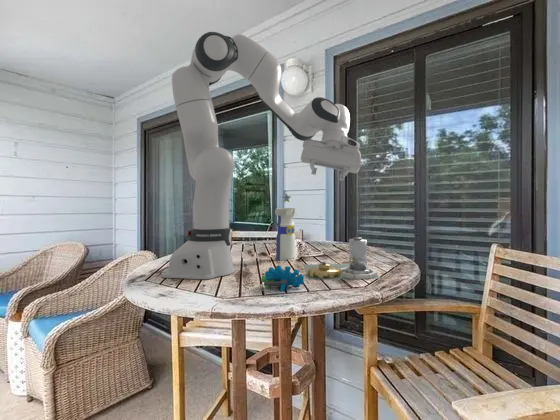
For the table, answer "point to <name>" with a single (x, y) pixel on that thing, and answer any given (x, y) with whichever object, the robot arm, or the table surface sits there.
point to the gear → (282, 278)
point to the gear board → (333, 266)
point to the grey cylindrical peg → (357, 256)
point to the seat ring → (359, 276)
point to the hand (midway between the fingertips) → (327, 176)
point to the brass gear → (324, 271)
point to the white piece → (285, 233)
